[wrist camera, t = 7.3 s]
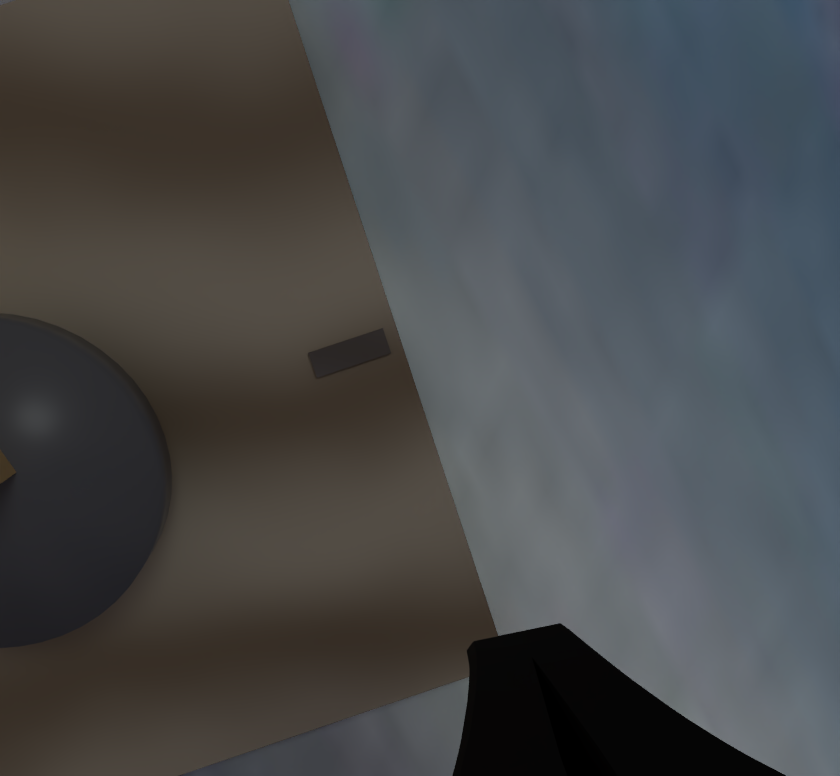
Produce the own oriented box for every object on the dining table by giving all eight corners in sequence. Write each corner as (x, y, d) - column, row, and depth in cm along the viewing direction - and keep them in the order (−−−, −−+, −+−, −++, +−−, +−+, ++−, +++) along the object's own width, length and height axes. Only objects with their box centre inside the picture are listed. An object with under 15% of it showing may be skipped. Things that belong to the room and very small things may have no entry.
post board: (498, 638, 20) (513, 681, 18) (-133, 853, 20) (-185, 920, 18) (268, -57, 16) (256, -96, 14) (-526, 198, 16) (-648, 194, 14)
